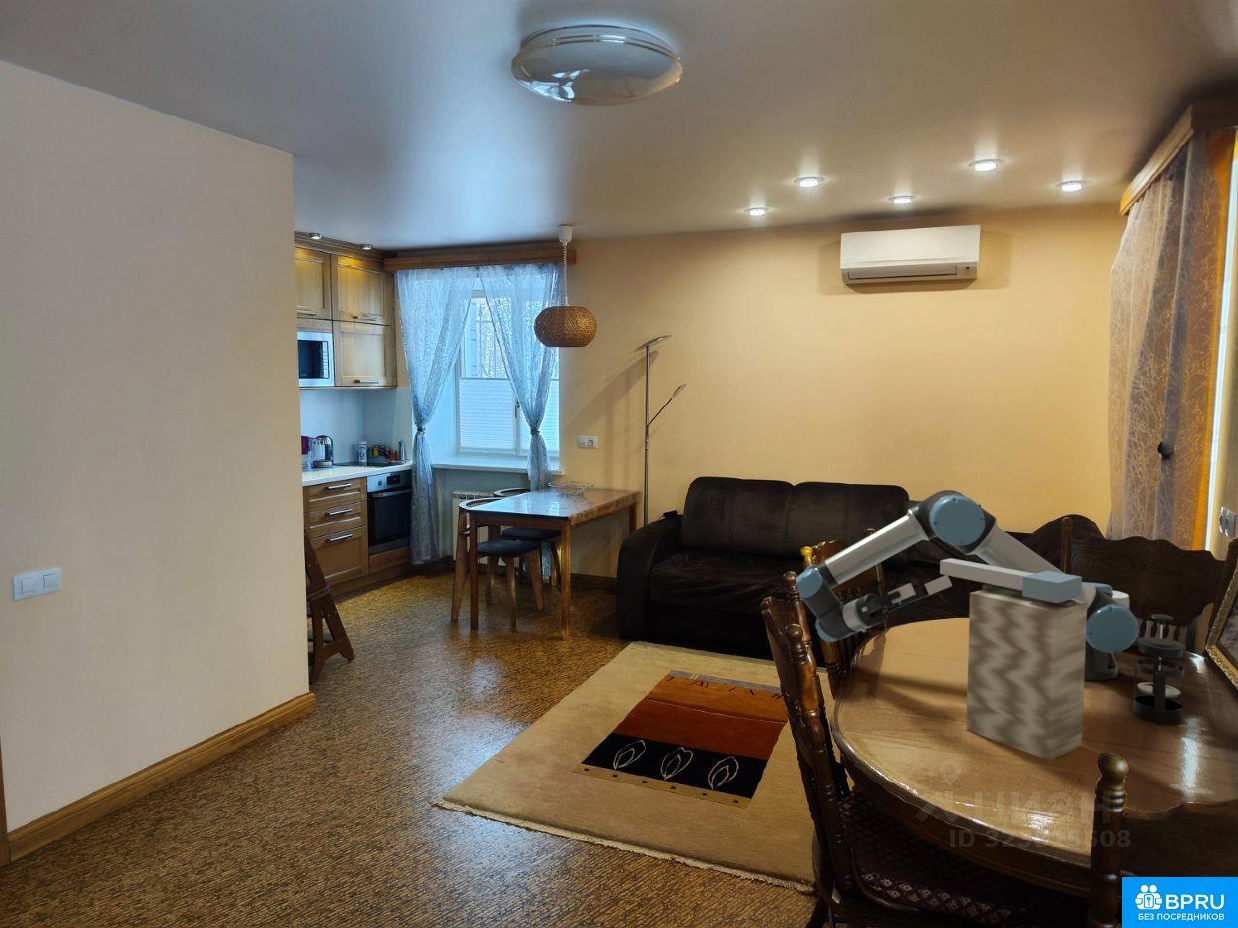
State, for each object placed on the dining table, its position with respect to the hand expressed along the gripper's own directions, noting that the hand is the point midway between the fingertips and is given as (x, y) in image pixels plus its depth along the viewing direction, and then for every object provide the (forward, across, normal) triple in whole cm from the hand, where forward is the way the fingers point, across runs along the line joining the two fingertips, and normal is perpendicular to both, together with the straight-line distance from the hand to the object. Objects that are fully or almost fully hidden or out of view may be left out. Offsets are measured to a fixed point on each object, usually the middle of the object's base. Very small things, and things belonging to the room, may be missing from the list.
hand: (931, 584), depth 184 cm
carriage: (+16, 0, -6) cm, 18 cm away
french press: (+15, -34, -42) cm, 56 cm away
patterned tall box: (+5, 0, -36) cm, 36 cm away
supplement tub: (-13, -80, -26) cm, 85 cm away
